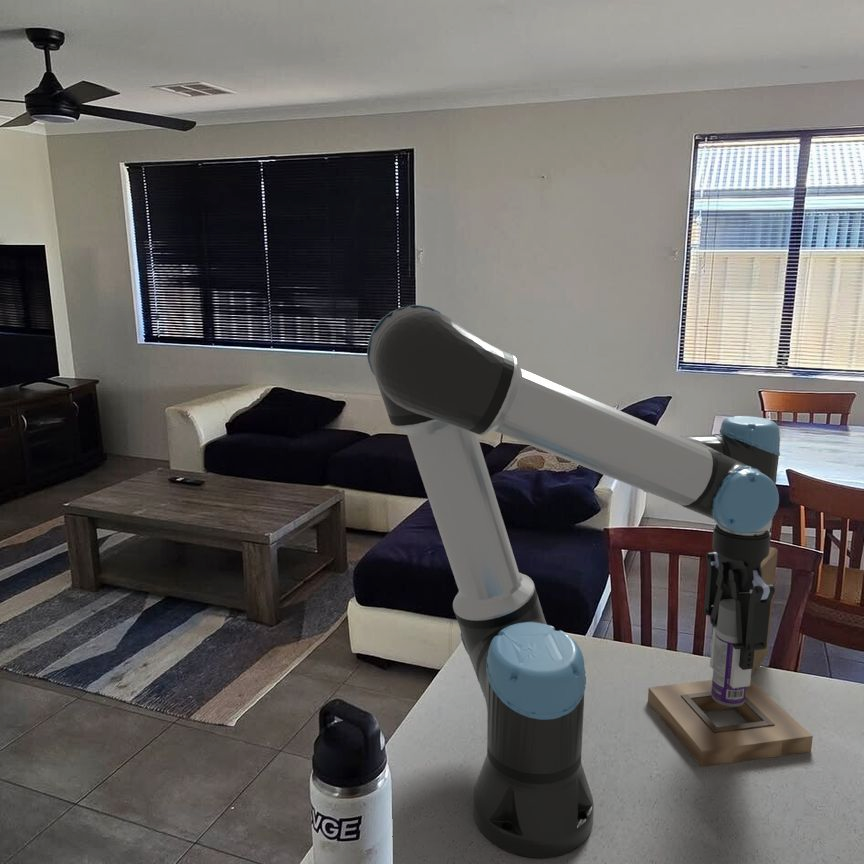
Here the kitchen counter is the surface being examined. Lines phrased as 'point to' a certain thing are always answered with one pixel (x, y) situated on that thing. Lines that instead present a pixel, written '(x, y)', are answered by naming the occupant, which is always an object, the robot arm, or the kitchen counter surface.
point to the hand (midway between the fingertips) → (729, 675)
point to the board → (733, 743)
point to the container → (725, 657)
